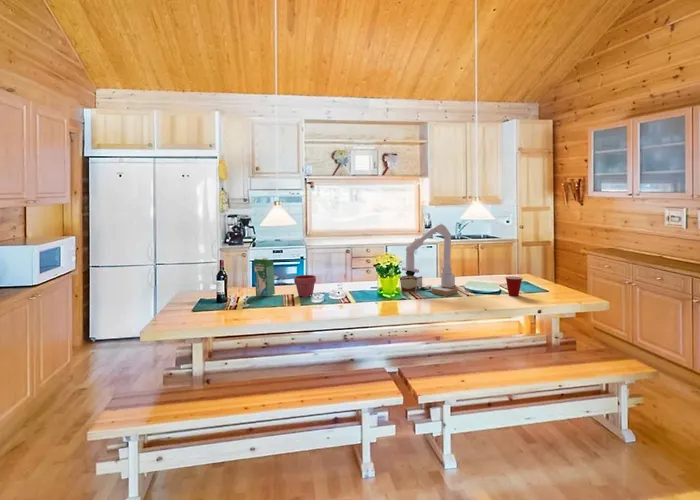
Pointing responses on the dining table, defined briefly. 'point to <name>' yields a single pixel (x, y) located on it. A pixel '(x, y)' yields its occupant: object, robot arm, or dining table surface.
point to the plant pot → (305, 284)
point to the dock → (444, 290)
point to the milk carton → (264, 277)
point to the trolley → (420, 285)
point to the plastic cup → (513, 285)
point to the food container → (408, 283)
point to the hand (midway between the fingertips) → (410, 281)
